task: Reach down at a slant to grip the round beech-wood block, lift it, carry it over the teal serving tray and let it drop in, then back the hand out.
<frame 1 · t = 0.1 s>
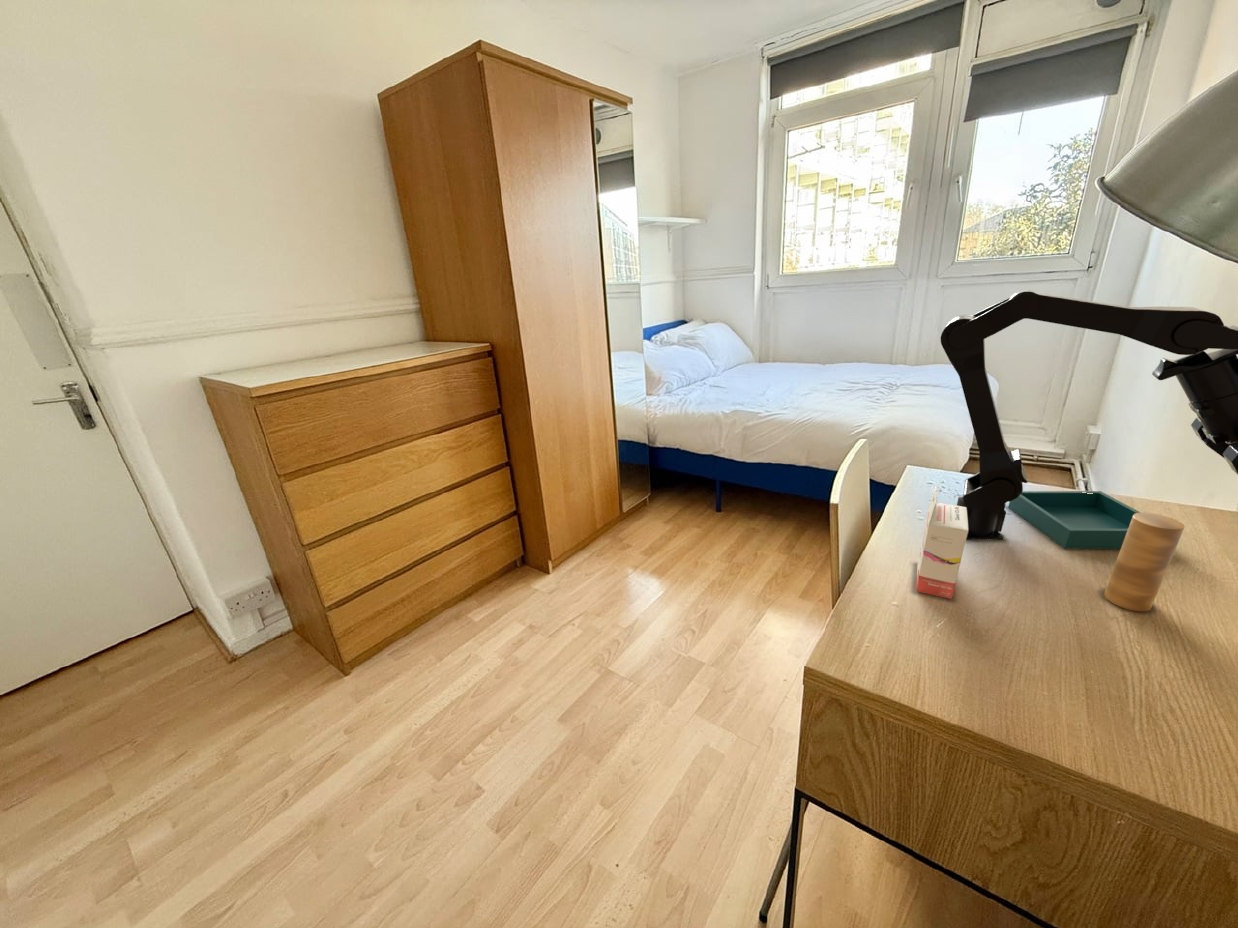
wood cylinder: (1127, 600, 70), on the table
ink cartridge box: (934, 582, 77), on the table
teal serving tray: (1081, 526, 90), on the table
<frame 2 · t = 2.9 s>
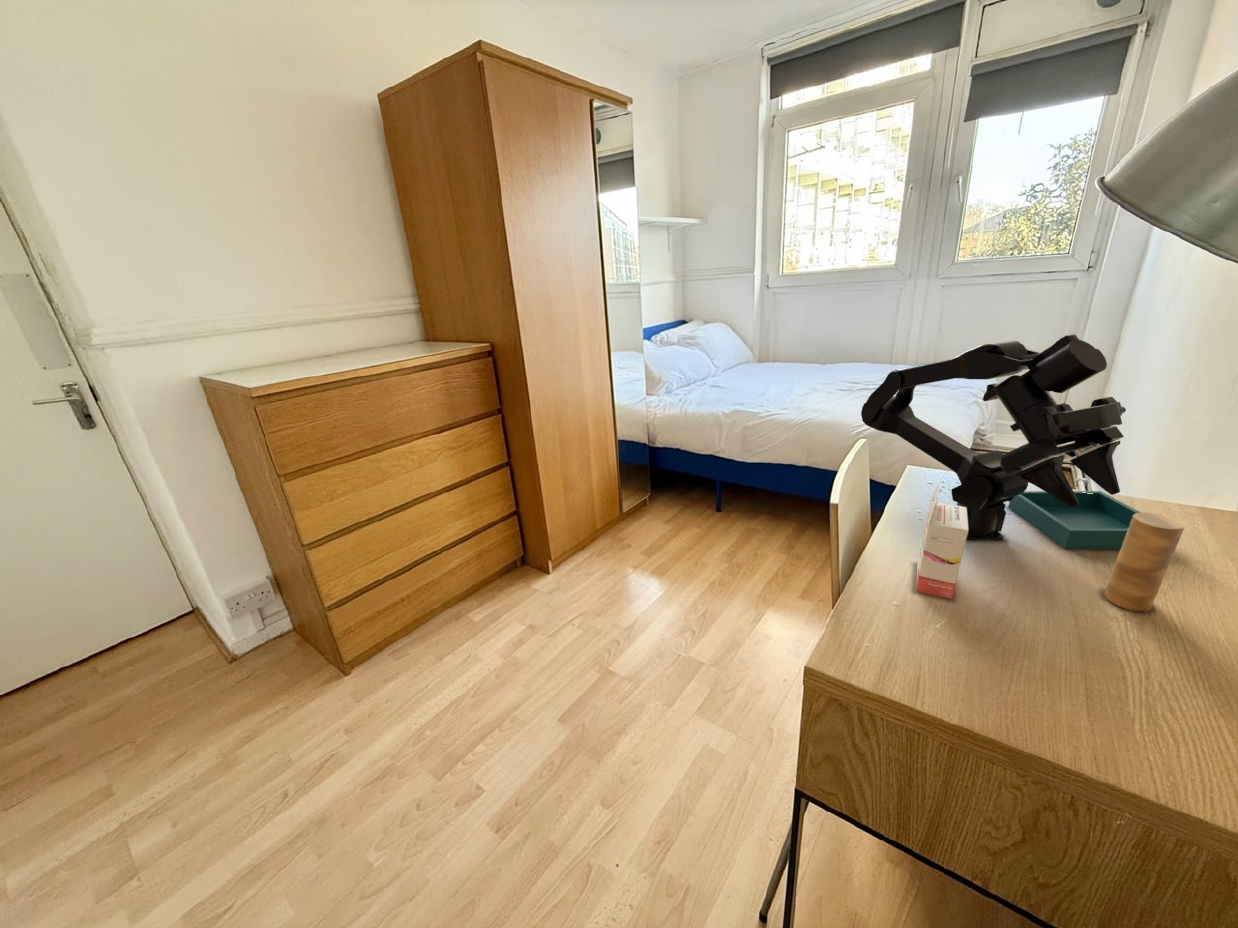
hand: (1096, 499, 72), 13 cm above the table, tool tilted 45°, fingers open, 9 cm apart
nothing on the table moved.
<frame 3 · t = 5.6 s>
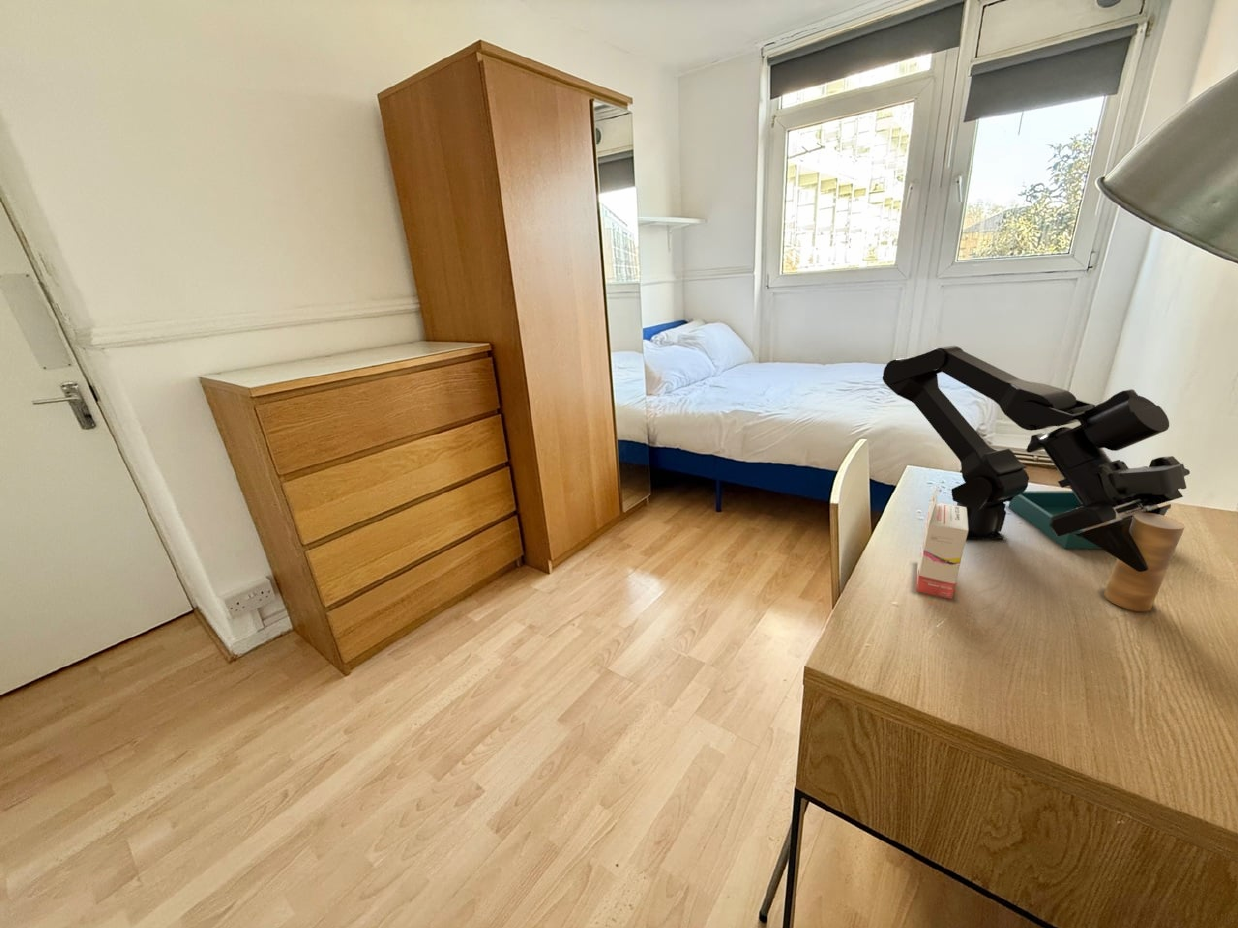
hand: (1155, 566, 67), 7 cm above the table, tool tilted 45°, fingers closed on wood cylinder, 5 cm apart
wood cylinder: (1127, 600, 70), on the table, touching gripper
everything else where it was.
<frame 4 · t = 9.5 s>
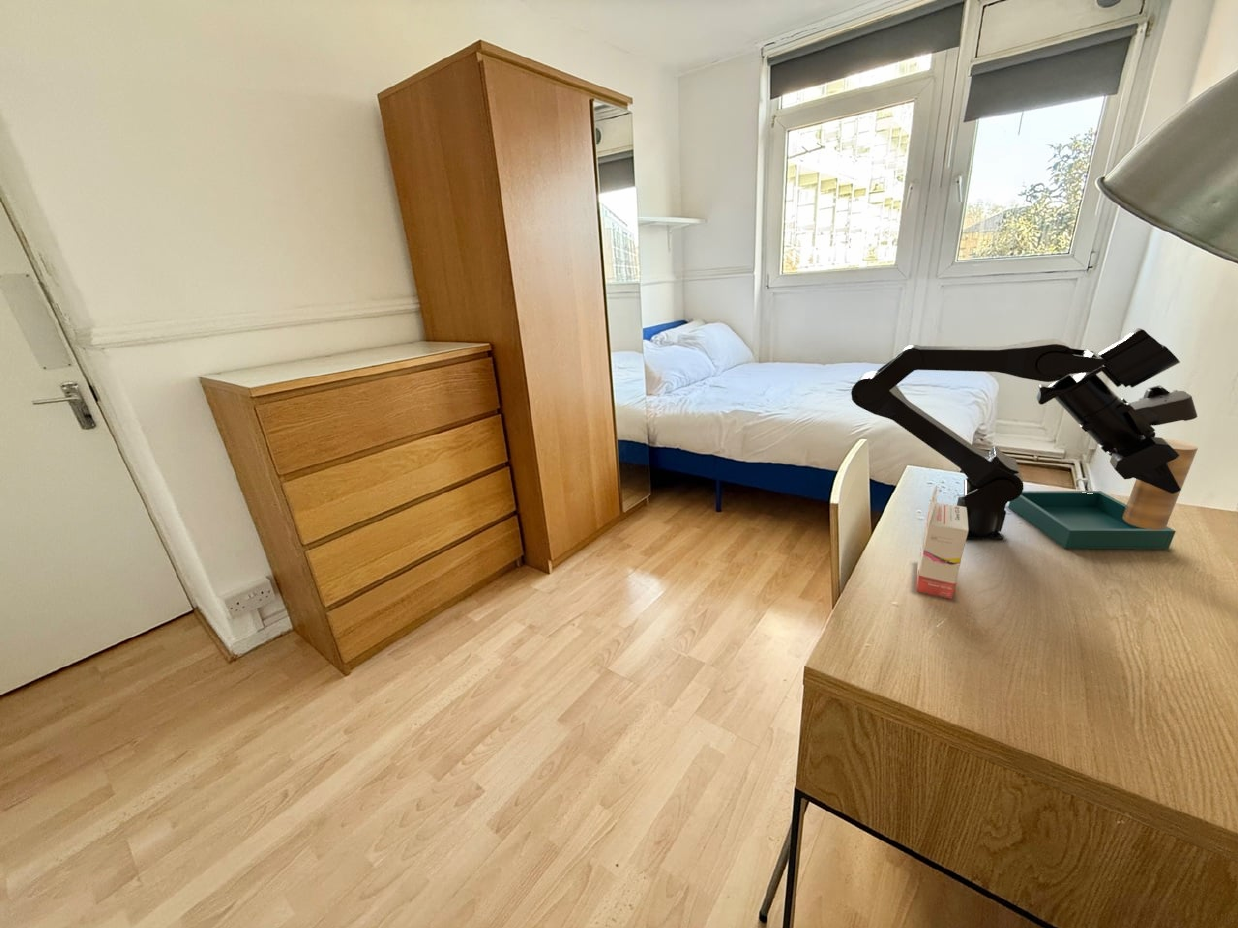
hand: (1171, 485, 74), 14 cm above the table, tool tilted 45°, fingers closed on wood cylinder, 5 cm apart
wood cylinder: (1143, 522, 77), point 7 cm above the table, touching gripper
everything else where it was.
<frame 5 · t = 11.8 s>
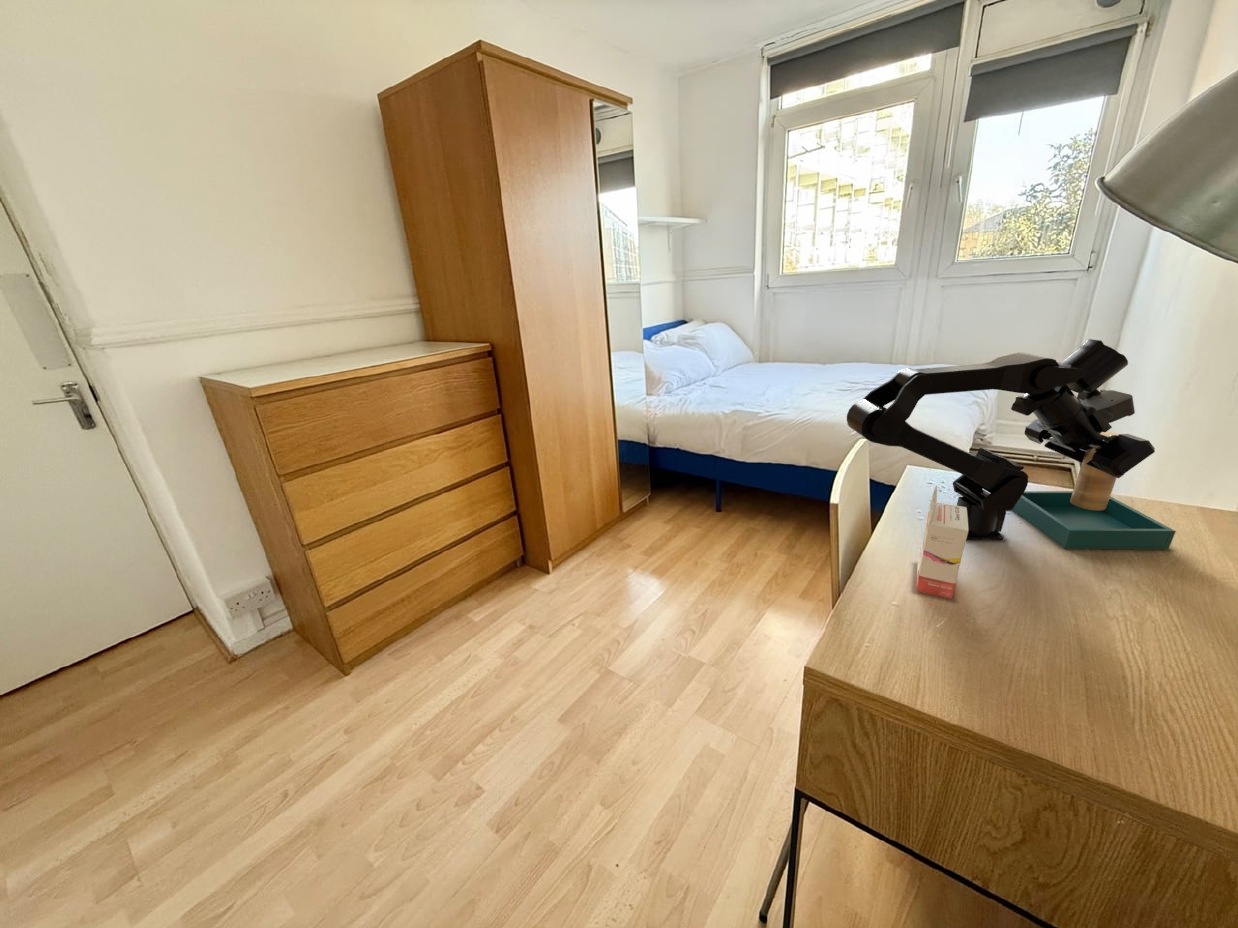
hand: (1106, 470, 85), 11 cm above the table, tool tilted 45°, fingers closed on wood cylinder, 5 cm apart
wood cylinder: (1087, 504, 88), point 4 cm above the table, touching gripper
everything else where it was.
when the fingers open (7 cm above the table, at t = 13.4 s): wood cylinder stays where it is, resting on teal serving tray.
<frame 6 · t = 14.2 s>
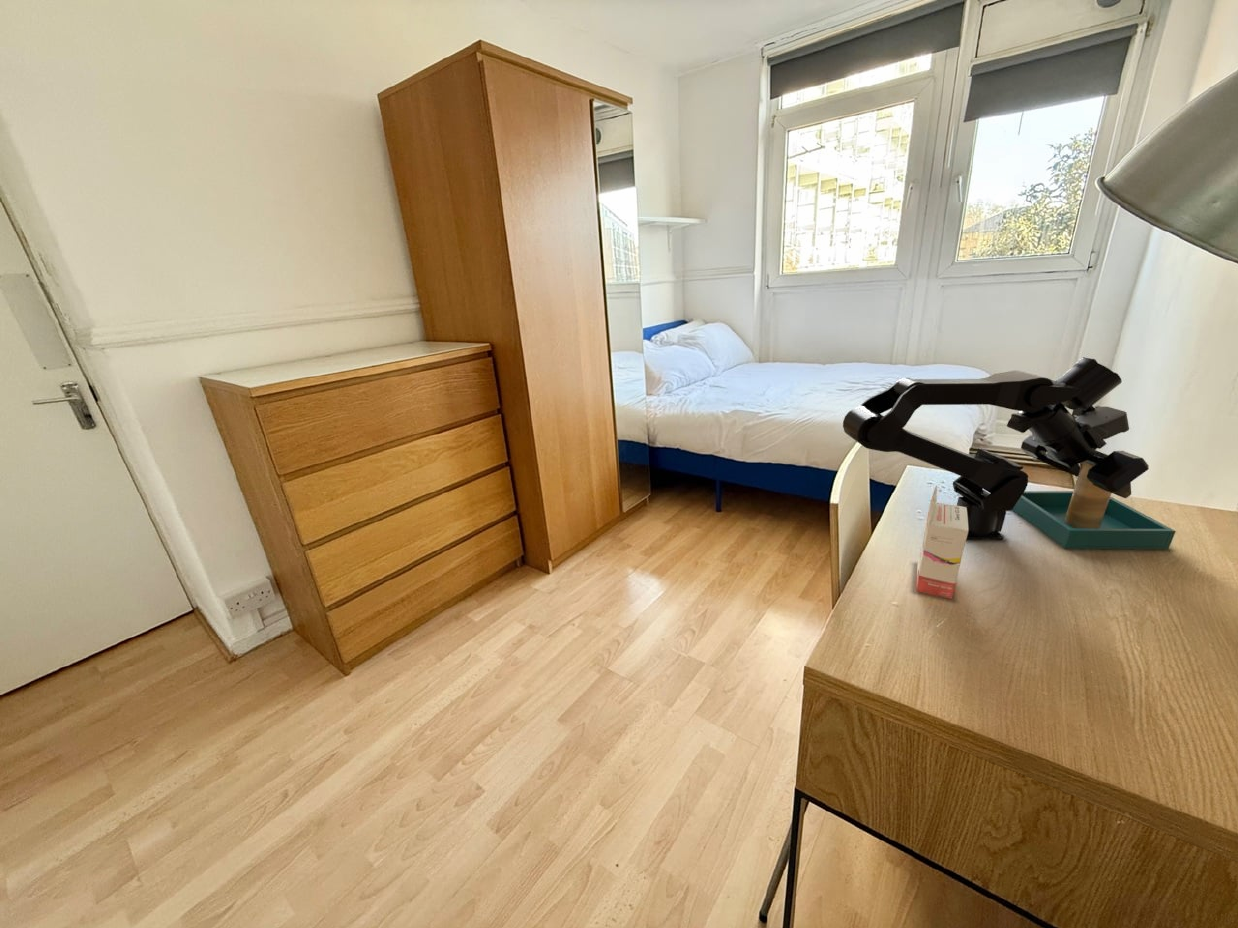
hand: (1102, 484, 87), 8 cm above the table, tool tilted 45°, fingers open, 9 cm apart
wood cylinder: (1081, 524, 89), resting on teal serving tray
everything else where it was.
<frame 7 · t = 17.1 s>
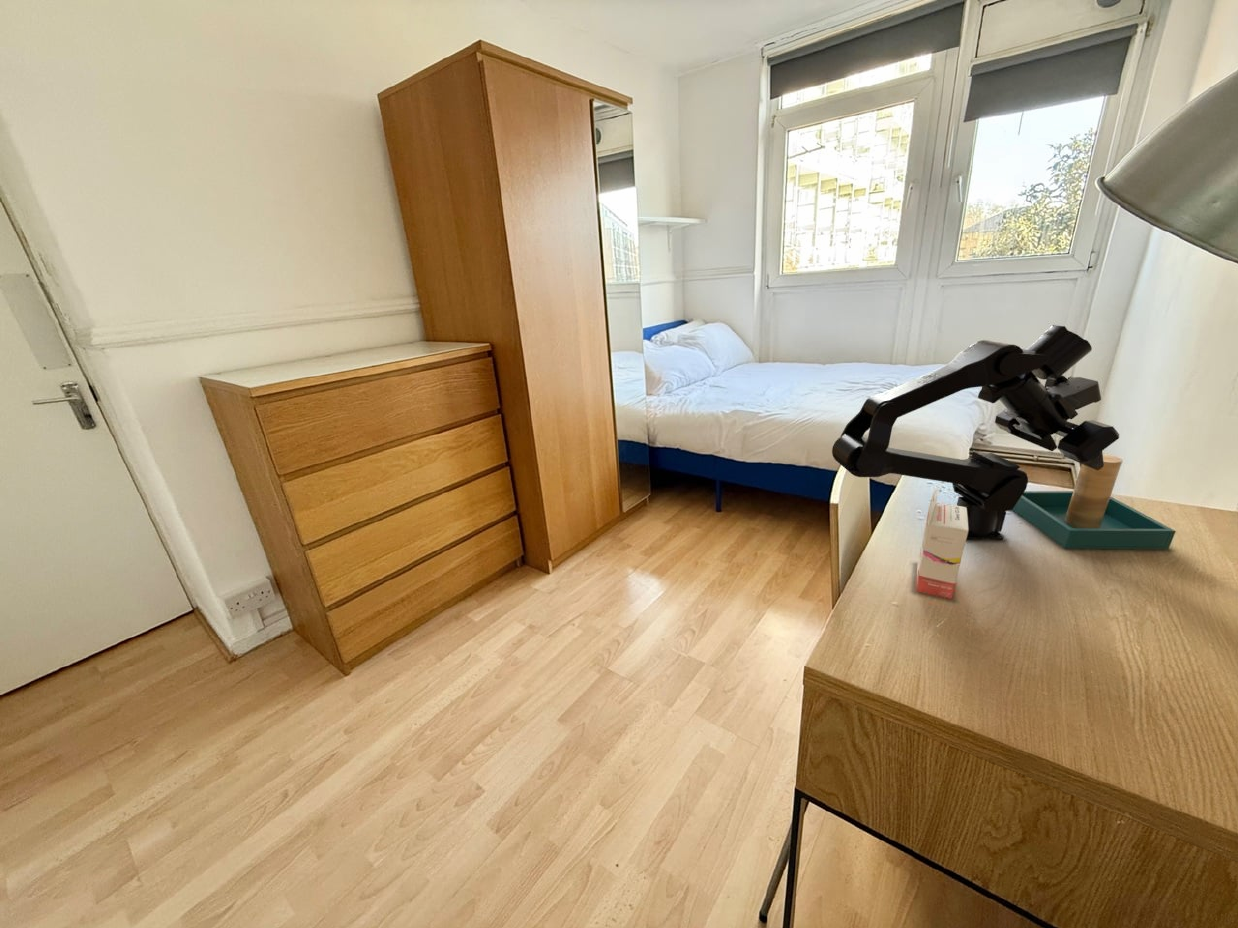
hand: (1076, 458, 85), 14 cm above the table, tool tilted 45°, fingers open, 9 cm apart
nothing on the table moved.
at the end: wood cylinder inside the target area in the teal serving tray (0.0 cm from its centre), point 0.5 cm above the teal serving tray's base; the gripper is holding nothing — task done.
